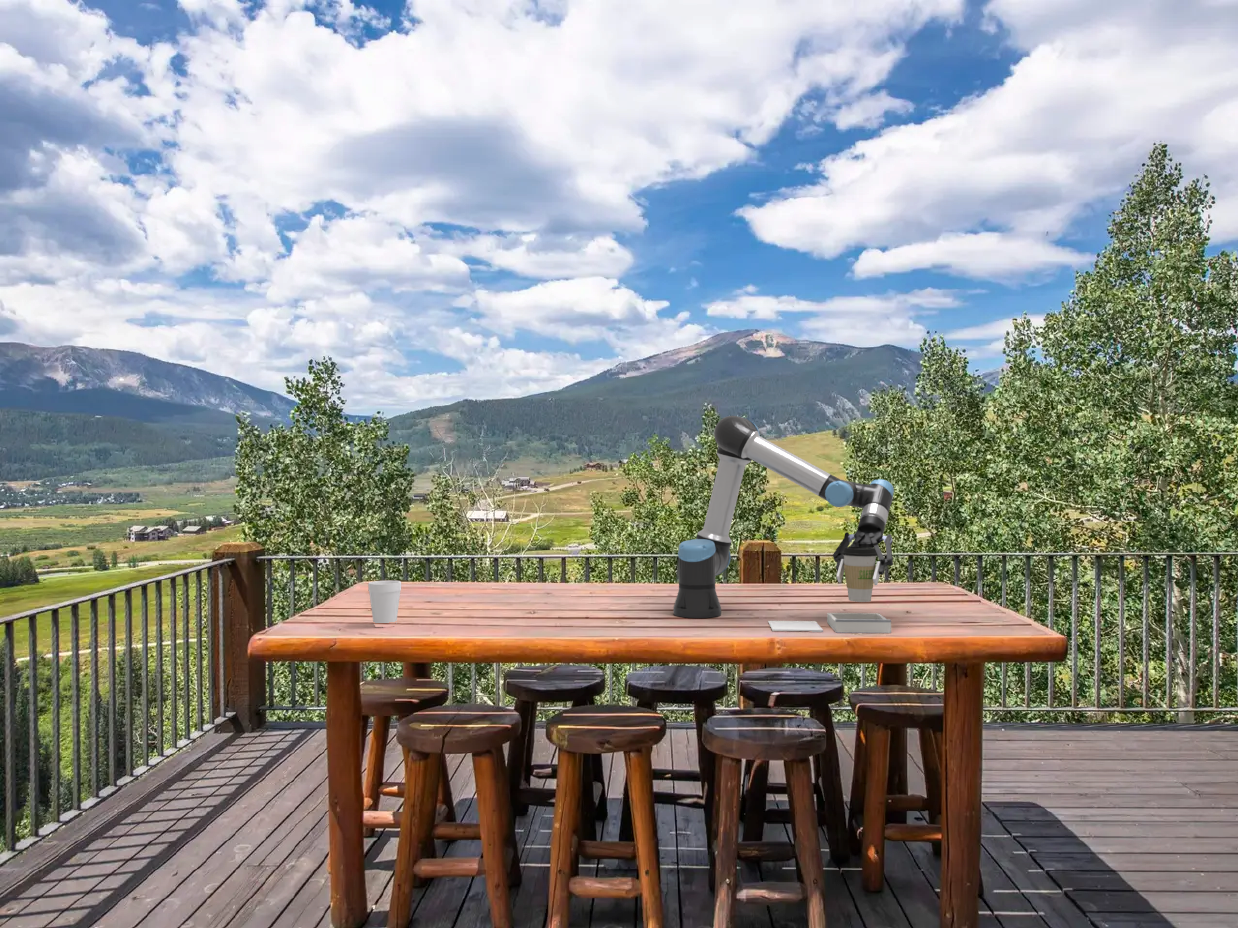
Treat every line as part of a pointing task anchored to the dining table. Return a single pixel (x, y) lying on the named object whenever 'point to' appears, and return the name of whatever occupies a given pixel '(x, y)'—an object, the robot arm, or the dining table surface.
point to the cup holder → (858, 623)
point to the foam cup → (384, 600)
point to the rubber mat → (795, 626)
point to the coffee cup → (859, 572)
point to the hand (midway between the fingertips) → (856, 580)
